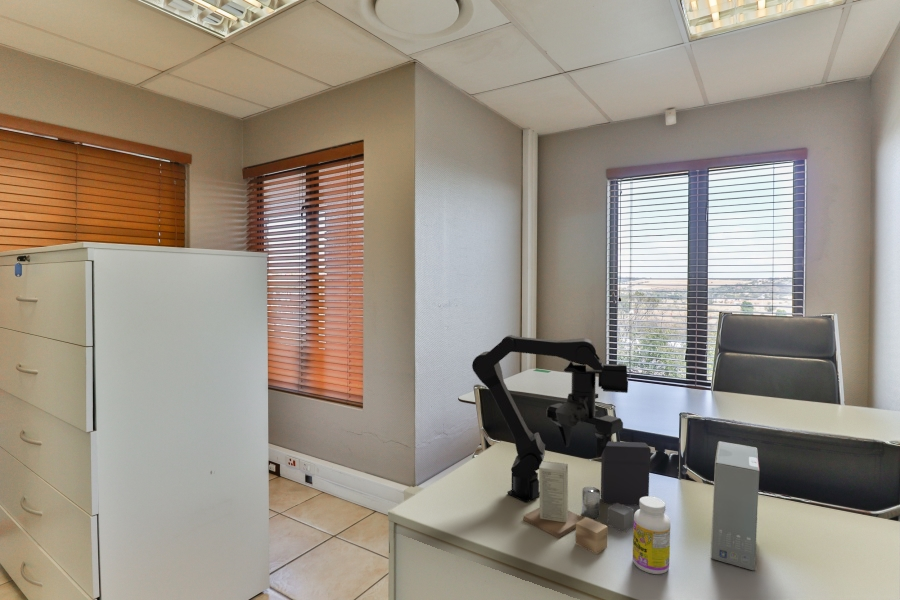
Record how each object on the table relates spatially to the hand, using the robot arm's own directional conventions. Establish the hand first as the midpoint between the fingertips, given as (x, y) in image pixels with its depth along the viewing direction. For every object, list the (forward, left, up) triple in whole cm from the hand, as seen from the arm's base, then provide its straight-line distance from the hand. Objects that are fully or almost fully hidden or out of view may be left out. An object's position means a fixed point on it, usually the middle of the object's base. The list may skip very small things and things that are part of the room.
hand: (582, 451), depth 117 cm
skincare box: (+1, -13, -12) cm, 18 cm away
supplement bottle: (+23, -12, -13) cm, 29 cm away
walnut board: (+1, -13, -13) cm, 18 cm away
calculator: (+7, +8, -13) cm, 17 cm away
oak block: (+12, -15, -13) cm, 23 cm away
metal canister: (+5, -4, -13) cm, 14 cm away
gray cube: (+12, -3, -13) cm, 18 cm away
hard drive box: (+32, +7, -13) cm, 35 cm away
